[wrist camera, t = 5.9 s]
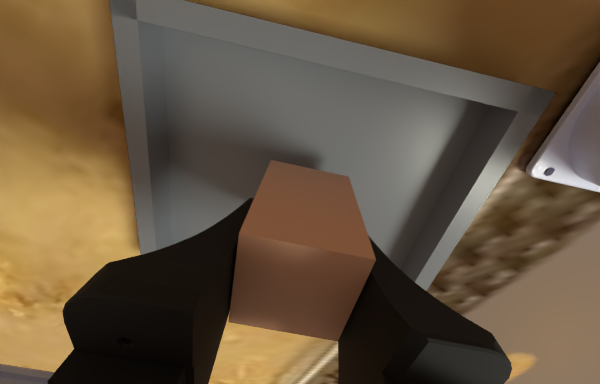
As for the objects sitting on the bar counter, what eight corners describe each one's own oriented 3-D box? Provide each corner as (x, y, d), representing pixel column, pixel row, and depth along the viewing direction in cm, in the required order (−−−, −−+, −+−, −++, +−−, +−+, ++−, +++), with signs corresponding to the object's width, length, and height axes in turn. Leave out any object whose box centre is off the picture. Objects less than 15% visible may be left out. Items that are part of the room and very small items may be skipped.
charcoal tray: (512, 87, 12) (556, 92, 10) (391, 299, 20) (401, 329, 17) (147, -3, 11) (107, -19, 9) (164, 256, 19) (144, 282, 16)
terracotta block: (348, 176, 12) (376, 259, 7) (328, 238, 14) (337, 341, 9) (271, 160, 12) (239, 233, 7) (260, 224, 14) (228, 322, 9)
